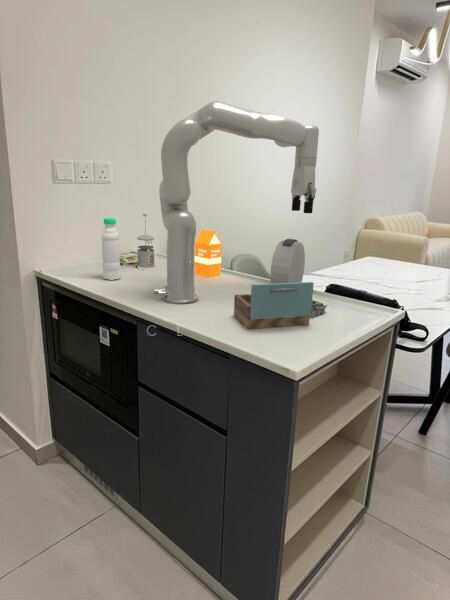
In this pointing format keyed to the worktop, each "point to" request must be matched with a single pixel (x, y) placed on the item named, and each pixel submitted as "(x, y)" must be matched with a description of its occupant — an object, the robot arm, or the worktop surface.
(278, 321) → the wooden open box
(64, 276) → the worktop surface
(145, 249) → the french press
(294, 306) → the light blue flat panel
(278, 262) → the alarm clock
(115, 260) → the water bottle
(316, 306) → the egg carton
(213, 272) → the orange juice
